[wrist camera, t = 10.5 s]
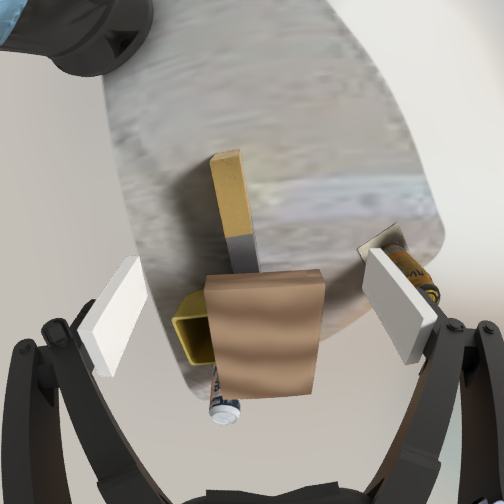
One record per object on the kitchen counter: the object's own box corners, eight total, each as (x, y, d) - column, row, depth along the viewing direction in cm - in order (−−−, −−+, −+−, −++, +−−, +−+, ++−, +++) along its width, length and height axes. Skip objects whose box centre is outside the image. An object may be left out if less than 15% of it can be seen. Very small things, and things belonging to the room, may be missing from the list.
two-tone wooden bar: (215, 153, 35) (209, 161, 29) (239, 149, 35) (238, 155, 28) (251, 326, 46) (252, 357, 40) (270, 323, 46) (273, 354, 40)
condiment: (377, 287, 44) (409, 335, 33) (356, 248, 41) (390, 293, 30) (413, 262, 42) (452, 304, 32) (396, 221, 39) (440, 258, 29)
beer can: (232, 351, 49) (230, 407, 38) (245, 367, 51) (245, 421, 40) (208, 359, 50) (202, 414, 39) (222, 375, 52) (219, 428, 41)
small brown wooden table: (214, 239, 40) (203, 290, 29) (303, 235, 40) (325, 283, 29) (226, 340, 48) (223, 399, 36) (298, 335, 48) (311, 394, 36)
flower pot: (197, 326, 46) (190, 366, 38) (182, 281, 43) (169, 318, 34) (251, 319, 46) (253, 360, 38) (241, 271, 42) (240, 309, 34)
